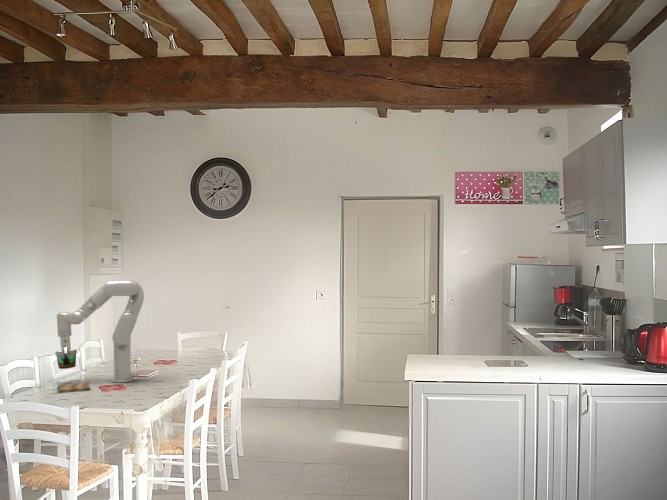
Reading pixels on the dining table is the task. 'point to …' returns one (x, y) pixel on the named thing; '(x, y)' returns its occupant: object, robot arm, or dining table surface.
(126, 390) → the dining table surface
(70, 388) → the shelf board
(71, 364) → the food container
